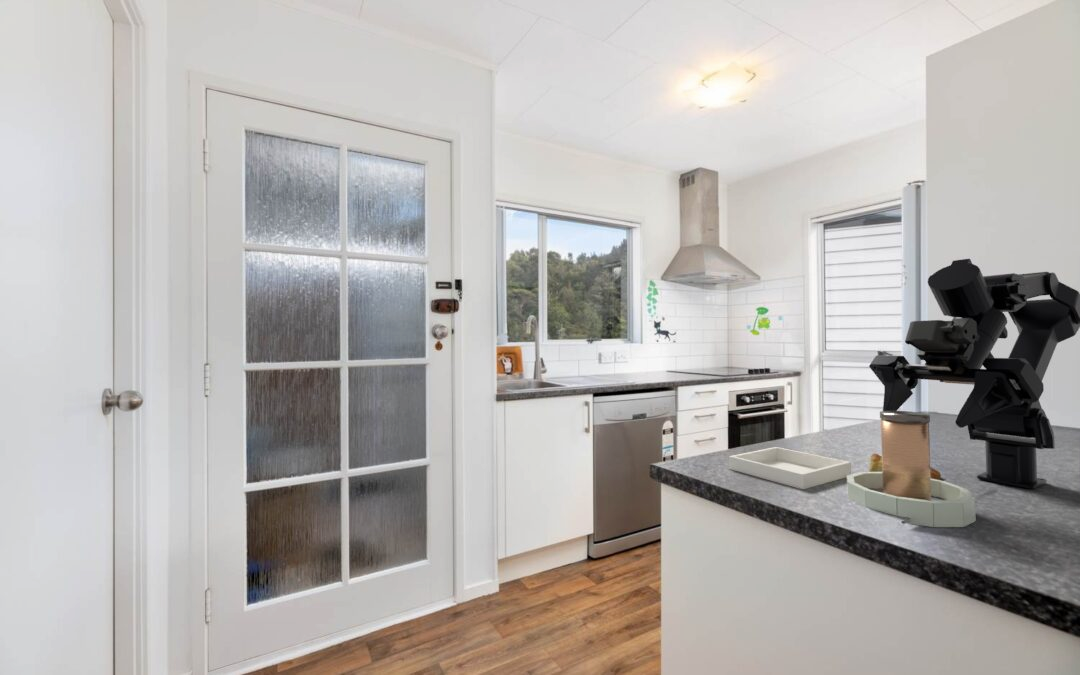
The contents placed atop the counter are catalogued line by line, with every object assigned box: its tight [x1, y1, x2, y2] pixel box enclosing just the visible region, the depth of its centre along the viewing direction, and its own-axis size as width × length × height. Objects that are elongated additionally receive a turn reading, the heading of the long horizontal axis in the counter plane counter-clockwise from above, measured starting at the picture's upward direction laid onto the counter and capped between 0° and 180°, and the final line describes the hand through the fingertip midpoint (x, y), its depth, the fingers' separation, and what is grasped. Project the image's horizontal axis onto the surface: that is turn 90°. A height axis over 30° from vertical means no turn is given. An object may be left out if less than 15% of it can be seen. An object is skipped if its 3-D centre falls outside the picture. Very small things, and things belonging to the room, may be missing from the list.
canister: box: [879, 410, 932, 501], centre depth 63 cm, size 5×5×12 cm
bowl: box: [846, 471, 977, 528], centre depth 63 cm, size 13×13×3 cm
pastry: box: [867, 453, 942, 481], centre depth 76 cm, size 9×7×4 cm
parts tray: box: [728, 446, 852, 490], centre depth 78 cm, size 13×13×3 cm
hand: (919, 419), depth 64 cm, fingers open, 9 cm apart
